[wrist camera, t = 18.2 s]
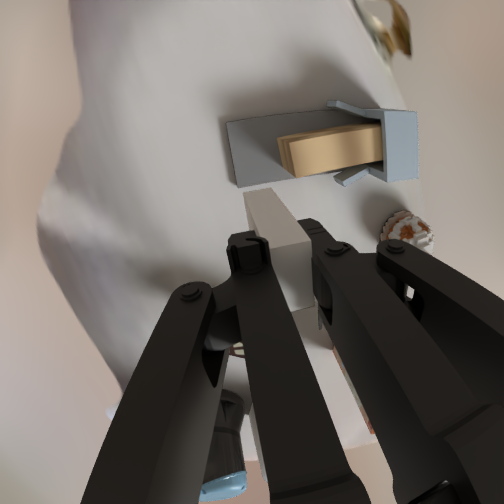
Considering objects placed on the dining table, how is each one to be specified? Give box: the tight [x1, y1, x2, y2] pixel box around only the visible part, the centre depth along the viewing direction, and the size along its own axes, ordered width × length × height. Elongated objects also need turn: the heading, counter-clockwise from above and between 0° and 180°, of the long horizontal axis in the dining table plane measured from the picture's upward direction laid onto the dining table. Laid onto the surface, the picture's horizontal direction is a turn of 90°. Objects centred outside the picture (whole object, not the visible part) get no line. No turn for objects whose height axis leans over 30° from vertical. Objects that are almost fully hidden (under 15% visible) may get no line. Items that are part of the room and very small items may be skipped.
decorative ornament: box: [380, 210, 434, 256], centre depth 37 cm, size 8×8×15 cm
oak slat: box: [277, 121, 383, 178], centre depth 32 cm, size 14×4×6 cm, turn 103°
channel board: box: [226, 100, 419, 188], centre depth 32 cm, size 22×11×8 cm, turn 98°
